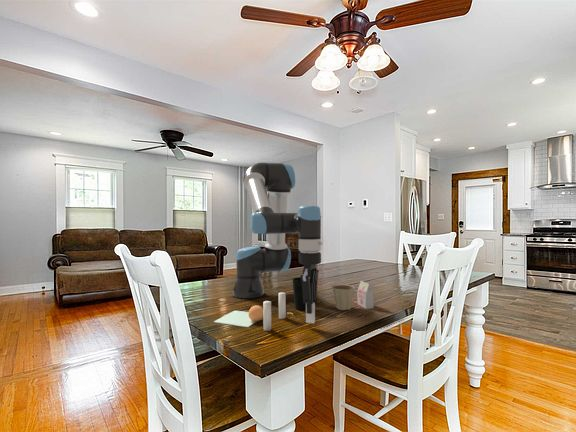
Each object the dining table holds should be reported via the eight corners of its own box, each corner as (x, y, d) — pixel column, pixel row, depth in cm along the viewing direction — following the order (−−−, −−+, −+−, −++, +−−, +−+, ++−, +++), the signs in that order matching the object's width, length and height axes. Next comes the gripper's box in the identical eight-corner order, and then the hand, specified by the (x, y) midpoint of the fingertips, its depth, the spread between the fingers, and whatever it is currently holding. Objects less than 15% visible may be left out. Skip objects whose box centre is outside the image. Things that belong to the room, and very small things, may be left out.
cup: (309, 311, 114) (309, 281, 114) (291, 310, 115) (290, 280, 116) (312, 306, 121) (311, 277, 122) (294, 305, 123) (294, 276, 123)
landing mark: (234, 310, 115) (234, 310, 115) (266, 314, 110) (266, 314, 110) (213, 322, 102) (213, 321, 102) (247, 327, 97) (247, 326, 97)
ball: (267, 318, 105) (254, 318, 106) (265, 303, 105) (251, 304, 107) (260, 323, 99) (247, 324, 101) (258, 307, 100) (244, 308, 102)
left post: (265, 327, 97) (265, 300, 97) (272, 328, 96) (272, 301, 96) (262, 330, 94) (261, 302, 94) (269, 331, 93) (269, 303, 93)
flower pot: (330, 304, 123) (330, 284, 123) (352, 304, 122) (352, 284, 123) (333, 311, 113) (333, 289, 114) (357, 311, 113) (357, 289, 113)
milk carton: (364, 303, 124) (364, 280, 124) (373, 308, 118) (373, 283, 118) (357, 304, 123) (356, 281, 123) (365, 309, 117) (365, 284, 117)
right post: (280, 316, 108) (280, 292, 109) (286, 316, 107) (286, 292, 108) (277, 318, 106) (277, 293, 106) (284, 319, 105) (283, 294, 105)
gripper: (315, 254, 89) (315, 330, 89) (325, 250, 101) (326, 317, 101) (292, 253, 92) (293, 327, 91) (305, 249, 104) (305, 315, 103)
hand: (310, 322), depth 96 cm, fingers closed
